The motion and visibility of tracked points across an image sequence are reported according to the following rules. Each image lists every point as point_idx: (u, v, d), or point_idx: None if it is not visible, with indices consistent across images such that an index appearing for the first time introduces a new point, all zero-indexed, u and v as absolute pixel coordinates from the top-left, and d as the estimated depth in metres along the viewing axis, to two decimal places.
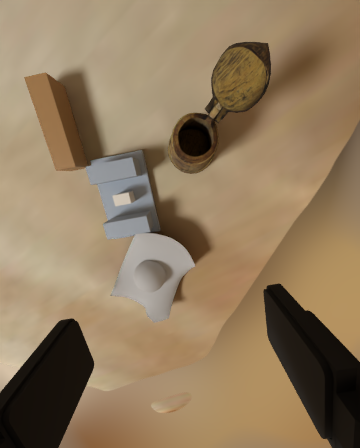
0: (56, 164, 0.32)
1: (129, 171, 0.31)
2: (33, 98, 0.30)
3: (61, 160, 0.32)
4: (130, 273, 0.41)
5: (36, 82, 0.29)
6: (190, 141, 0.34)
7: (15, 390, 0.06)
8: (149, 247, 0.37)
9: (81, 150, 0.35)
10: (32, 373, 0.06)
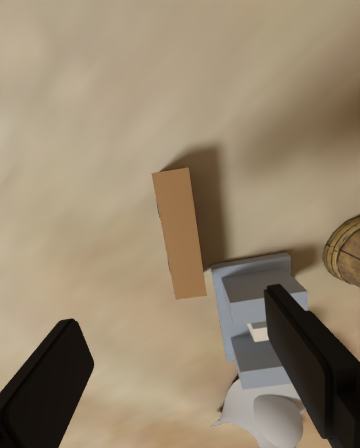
0: (178, 292, 0.21)
1: None
2: (160, 203, 0.18)
3: (186, 287, 0.21)
4: (241, 402, 0.30)
5: (169, 181, 0.18)
6: None
7: (15, 390, 0.06)
8: (285, 386, 0.26)
9: None
10: (32, 373, 0.06)
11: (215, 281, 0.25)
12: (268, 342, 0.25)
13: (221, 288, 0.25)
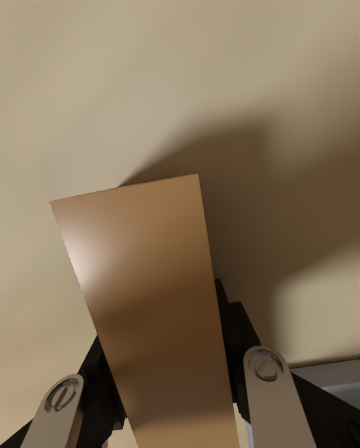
0: None
1: None
2: (97, 305, 0.05)
3: None
4: None
5: (125, 231, 0.05)
6: None
7: None
8: None
9: None
10: None
11: None
12: None
13: None
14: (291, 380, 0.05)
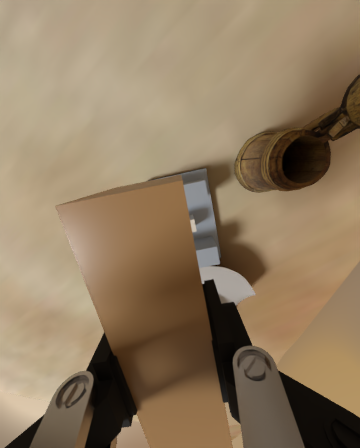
0: None
1: (200, 196, 0.26)
2: (99, 294, 0.06)
3: None
4: None
5: (121, 230, 0.05)
6: None
7: None
8: None
9: None
10: None
11: None
12: (194, 242, 0.32)
13: None
14: (279, 378, 0.05)
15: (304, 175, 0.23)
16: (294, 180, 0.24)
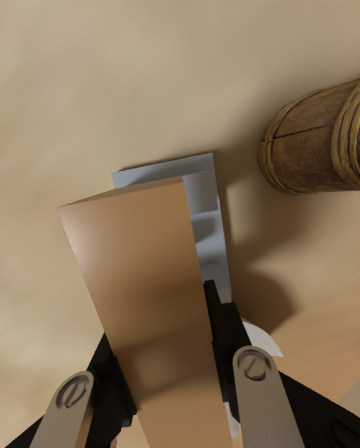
0: None
1: (203, 201, 0.14)
2: (100, 296, 0.06)
3: None
4: None
5: (122, 232, 0.05)
6: None
7: None
8: None
9: None
10: None
11: None
12: None
13: None
14: (279, 378, 0.05)
15: None
16: None
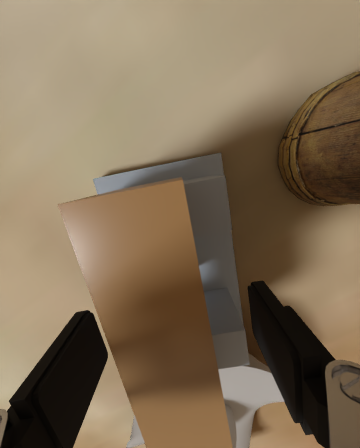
0: None
1: (212, 217, 0.10)
2: (99, 294, 0.06)
3: None
4: None
5: (121, 229, 0.05)
6: None
7: (42, 373, 0.06)
8: None
9: None
10: (56, 359, 0.07)
11: None
12: None
13: None
14: None
15: None
16: None
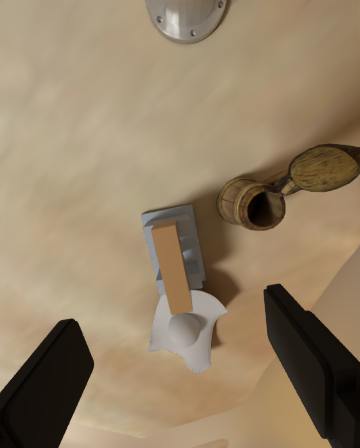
0: (172, 309, 0.29)
1: (186, 231, 0.31)
2: (157, 249, 0.27)
3: (178, 305, 0.29)
4: (163, 327, 0.41)
5: (162, 234, 0.26)
6: None
7: (15, 390, 0.06)
8: None
9: (188, 280, 0.32)
10: (32, 373, 0.06)
11: (143, 223, 0.36)
12: None
13: None
14: None
15: (269, 218, 0.29)
16: (262, 220, 0.30)
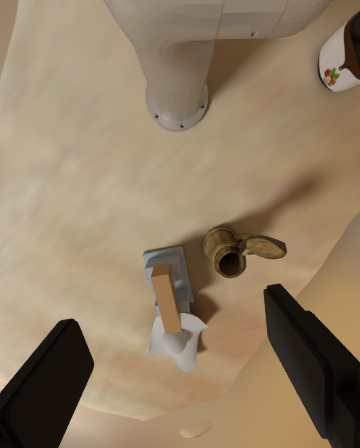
0: (166, 330, 0.40)
1: (177, 271, 0.42)
2: (155, 289, 0.38)
3: (170, 327, 0.40)
4: (159, 337, 0.52)
5: (159, 280, 0.37)
6: None
7: (15, 390, 0.06)
8: None
9: (178, 306, 0.43)
10: (32, 373, 0.06)
11: (145, 261, 0.47)
12: None
13: None
14: None
15: (237, 265, 0.39)
16: (233, 265, 0.40)
